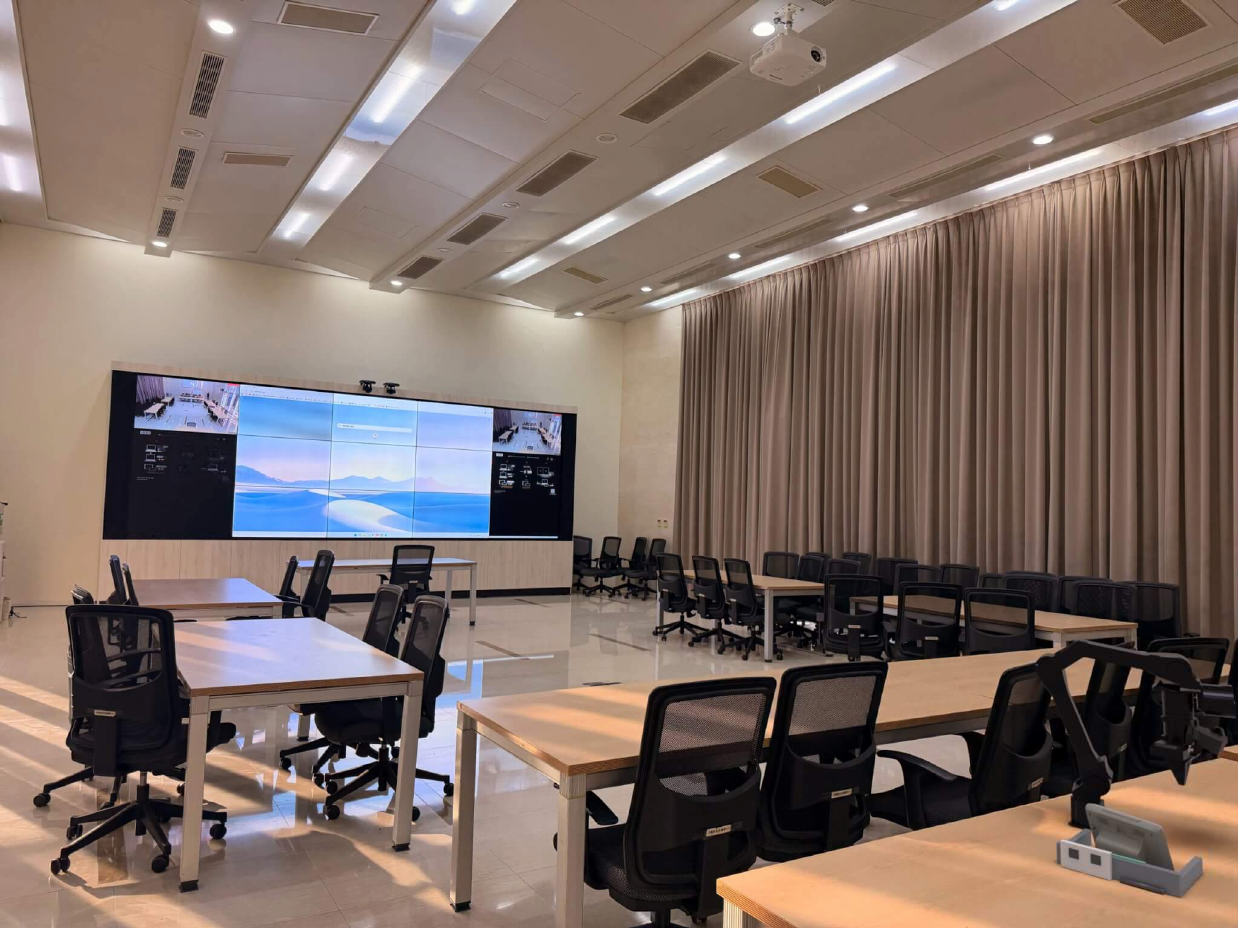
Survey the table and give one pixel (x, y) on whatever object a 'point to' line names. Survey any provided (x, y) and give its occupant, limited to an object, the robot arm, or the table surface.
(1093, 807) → the digital clock
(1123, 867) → the gray bracket
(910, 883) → the table surface
